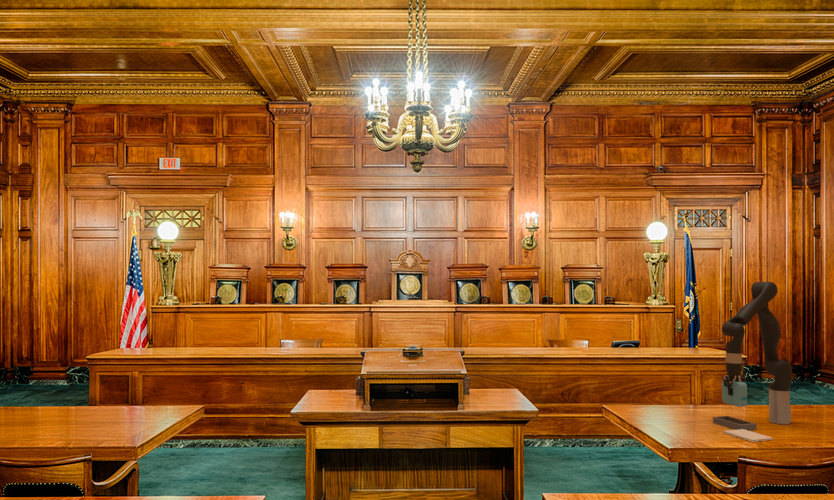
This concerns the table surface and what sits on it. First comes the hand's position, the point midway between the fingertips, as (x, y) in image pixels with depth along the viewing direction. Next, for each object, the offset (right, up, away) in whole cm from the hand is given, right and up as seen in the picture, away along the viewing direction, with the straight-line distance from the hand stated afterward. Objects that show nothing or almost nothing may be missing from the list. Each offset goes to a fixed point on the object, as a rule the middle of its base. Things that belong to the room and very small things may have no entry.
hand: (734, 394), depth 293 cm
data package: (0, -5, 0) cm, 5 cm away
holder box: (0, -16, -1) cm, 16 cm away
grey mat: (-5, -15, -20) cm, 26 cm away
